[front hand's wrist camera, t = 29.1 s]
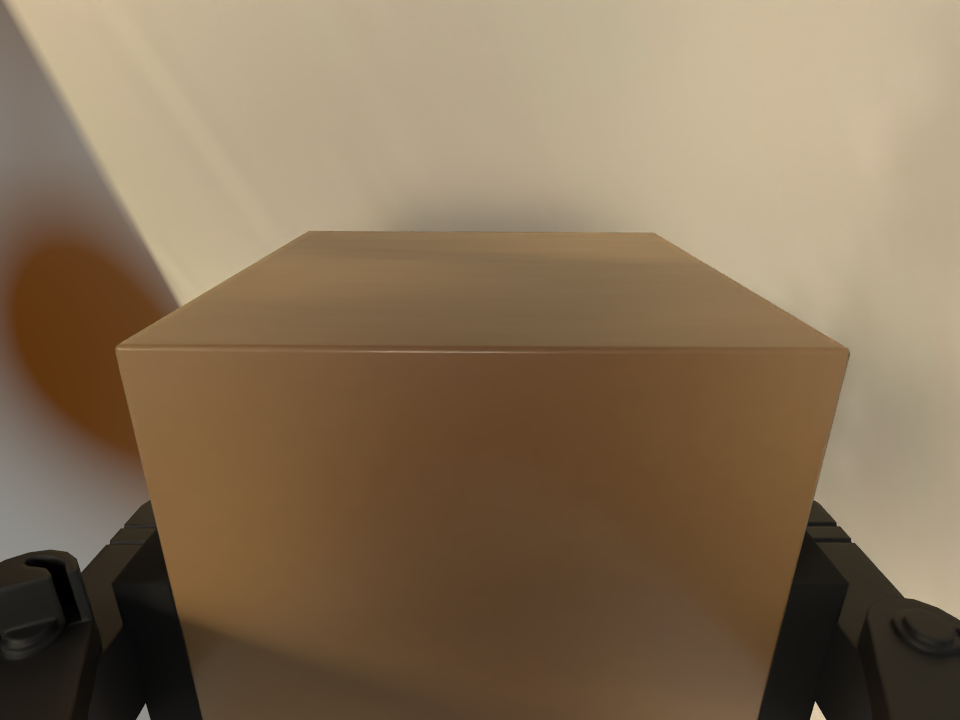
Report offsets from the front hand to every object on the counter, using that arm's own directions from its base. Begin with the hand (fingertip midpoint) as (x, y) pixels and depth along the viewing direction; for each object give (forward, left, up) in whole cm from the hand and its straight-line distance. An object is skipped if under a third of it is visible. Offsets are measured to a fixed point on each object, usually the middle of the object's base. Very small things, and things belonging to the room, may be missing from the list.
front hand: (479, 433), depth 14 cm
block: (0, 0, -1) cm, 1 cm away
